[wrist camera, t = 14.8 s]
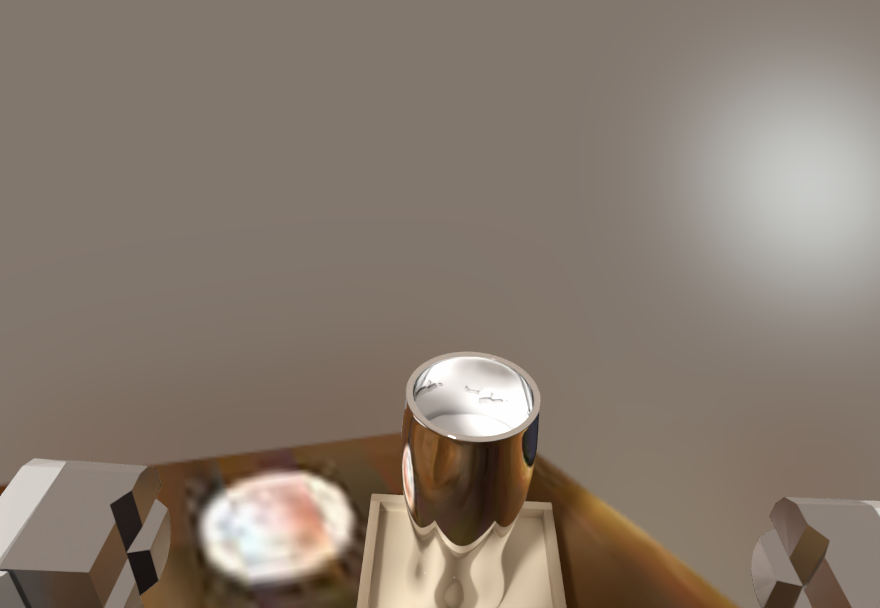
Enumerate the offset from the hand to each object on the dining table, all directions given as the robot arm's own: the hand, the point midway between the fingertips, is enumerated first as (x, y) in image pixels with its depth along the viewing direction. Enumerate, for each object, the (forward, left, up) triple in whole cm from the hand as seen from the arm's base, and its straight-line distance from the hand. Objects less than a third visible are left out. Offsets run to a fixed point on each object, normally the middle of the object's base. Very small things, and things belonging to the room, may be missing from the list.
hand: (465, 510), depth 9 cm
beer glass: (+2, +19, -30) cm, 35 cm away
